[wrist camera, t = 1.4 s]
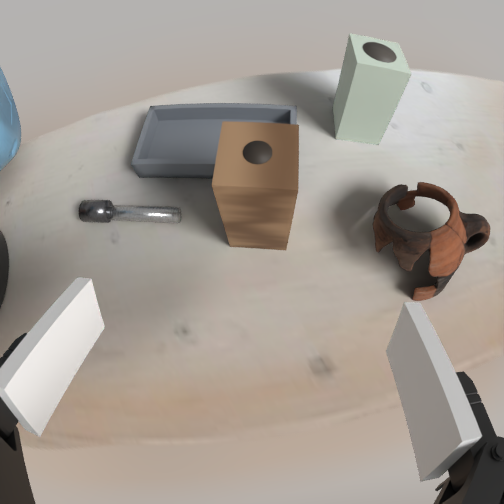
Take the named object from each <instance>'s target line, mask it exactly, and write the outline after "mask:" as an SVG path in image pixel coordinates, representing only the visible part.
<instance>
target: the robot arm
mask: <svg viewBox="0 0 504 504" xmlns="http://www.w3.org/2000/svg"><path fill="white" fill-rule="evenodd" d="M20 142H21V126H20V121H19V116H18V112H17V109H16V105H15V102H14V99H13V96H12V94H11V91H10V88H9V86H8V83H7V81H6V78H5V76H4V74H3V72H2V69H1V67H0V171H1V170H2V169H3V168H4V167H5V166H6V165H7V164H8V163H9V162H10V161H11V160H12V159H13V157H14V156H15V155H16V153H17V151H18V149H19V146H20ZM8 267H9V261H8V250H7V245H6V241H5V238H4V236H3V234H2V232H1V231H0V307H1V305H2V302H3V298H4V295H5V291H6V286H7V279H8ZM104 328H105V326H104V323H103V320H102V316H101V313H100V309H99V306H98V302H97V298H96V295H95V291H94V287H93V283H92V279H90V278H82V277H77V278H76V279H75V280H74V282H73V283H72V284H71V285H70V286H69V287H68V288H67V289H66V290H65V291H64V292H63V293H62V295H61V296H60V297H59V298H58V299H57V300H56V301H55V302H54V303H53V305H52V306H51V307H50V308H49V309H48V310H47V311H46V313H45V314H44V315H43V316H42V317H41V318H40V319H39V321H38V322H37V323H36V324H35V325H34V327H33V328H32V329H31V330H30V331H29V333H28V334H27V333H24V334H23V335H21V336H20V337H19V338H17V339H16V340H15V341H14V342H13V343H12V344H11V346H10V347H9V350H7V351H6V352H5V353H4V354H3V357H1V358H0V504H35V501H34V498H33V494H32V490H31V487H30V483H29V479H28V475H27V471H26V466H25V462H24V457H23V452H22V447H21V442H20V436H19V431H18V428H17V427H16V424H17V423H18V421H19V422H20V424H21V425H22V426H23V427H24V429H25V430H27V431H29V432H31V433H33V434H35V435H37V436H39V437H40V436H41V434H42V432H43V430H44V428H45V426H46V425H47V423H48V421H49V419H50V417H51V415H52V414H53V412H54V410H55V408H56V407H57V405H58V403H59V401H60V400H61V398H62V396H63V394H64V393H65V391H66V389H67V388H68V386H69V384H70V382H71V381H72V379H73V377H74V376H75V374H76V372H77V371H78V369H79V368H80V366H81V364H82V363H83V361H84V359H85V358H86V356H87V355H88V353H89V351H90V350H91V348H92V347H93V345H94V344H95V342H96V340H97V339H98V337H99V336H100V334H101V333H102V331H103V330H104ZM386 353H387V356H388V359H389V362H390V365H391V369H392V372H393V375H394V378H395V382H396V385H397V389H398V392H399V395H400V399H401V403H402V406H403V410H404V413H405V417H406V421H407V425H408V429H409V433H410V436H411V441H412V445H413V449H414V453H415V458H416V462H417V467H418V471H419V476H420V481H425V480H430V479H435V478H439V477H440V476H441V475H443V474H444V473H445V472H446V471H447V470H448V472H449V476H450V477H449V478H447V479H446V480H445V481H444V482H442V483H441V484H440V485H439V486H438V487H437V488H436V489H435V490H436V491H438V490H439V489H441V488H442V490H441V491H440V493H439V495H438V497H437V499H436V500H435V502H434V504H504V438H502V437H497V436H496V434H495V431H494V429H493V426H492V424H491V422H490V419H489V417H488V414H487V412H486V410H485V407H484V405H483V403H481V398H480V396H479V394H477V389H476V387H475V385H474V383H473V381H472V380H471V379H470V378H469V377H468V376H467V375H466V374H465V372H455V370H454V368H453V366H452V364H451V362H450V359H449V357H448V355H447V353H446V351H445V349H444V347H443V345H442V343H441V341H440V339H439V337H438V335H437V333H436V331H435V330H434V328H433V326H432V324H431V322H430V320H429V318H428V316H427V315H426V313H425V311H424V309H423V307H422V305H421V304H420V303H417V302H404V304H403V307H402V310H401V313H400V315H399V318H398V321H397V324H396V327H395V329H394V332H393V335H392V337H391V340H390V342H389V345H388V347H387V350H386Z"/></svg>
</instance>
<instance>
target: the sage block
mask: <svg viewBox="0 0 504 504" xmlns="http://www.w3.org/2000/svg"><path fill="white" fill-rule="evenodd" d="M410 76H411V72H410V69H409V67H408V64H407V62H406V59H405V57H404V55H403V52H402V50H401V48H400V46H399V44H398V43H395V42H390V41H386V40H381V39H377V38H372V37H366V36H360V35H355V34H349V38H348V43H347V47H346V52H345V57H344V61H343V66H342V70H341V74H340V79H339V83H338V87H337V92H336V96H335V100H334V104H333V115H334V126H335V137H336V139H337V140H346V141H354V142H362V143H369V144H376V145H379V143H380V141H381V139H382V137H383V135H384V133H385V131H386V129H387V127H388V124H389V122H390V120H391V118H392V116H393V114H394V112H395V110H396V107H397V105H398V103H399V101H400V99H401V96H402V94H403V92H404V90H405V87H406V85H407V83H408V81H409V78H410Z"/></svg>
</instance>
